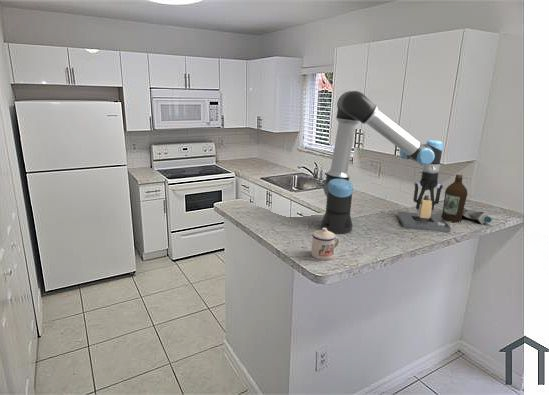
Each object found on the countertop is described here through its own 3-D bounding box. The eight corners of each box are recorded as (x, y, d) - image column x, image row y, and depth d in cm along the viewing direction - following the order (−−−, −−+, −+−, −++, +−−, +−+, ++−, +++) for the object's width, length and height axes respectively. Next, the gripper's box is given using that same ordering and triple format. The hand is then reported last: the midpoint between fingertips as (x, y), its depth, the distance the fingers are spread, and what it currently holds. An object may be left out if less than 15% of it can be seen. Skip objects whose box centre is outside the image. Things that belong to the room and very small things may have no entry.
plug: (420, 217, 181) (423, 197, 178) (417, 214, 187) (420, 194, 184) (429, 218, 180) (432, 197, 177) (426, 214, 186) (429, 194, 183)
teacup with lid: (318, 262, 136) (320, 233, 132) (306, 252, 143) (308, 225, 140) (344, 257, 141) (347, 230, 137) (331, 248, 148) (333, 222, 145)
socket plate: (403, 227, 177) (404, 221, 176) (397, 215, 196) (398, 209, 195) (449, 232, 173) (451, 225, 172) (439, 219, 192) (440, 213, 191)
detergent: (440, 213, 204) (479, 227, 181) (443, 201, 202) (482, 213, 180) (457, 213, 209) (496, 226, 187) (459, 201, 207) (500, 213, 185)
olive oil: (445, 215, 200) (453, 172, 193) (464, 220, 192) (473, 175, 186) (437, 219, 193) (445, 174, 186) (457, 224, 185) (466, 178, 179)
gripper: (413, 171, 175) (407, 216, 181) (451, 174, 172) (443, 219, 178) (410, 169, 182) (404, 212, 188) (446, 171, 179) (439, 215, 185)
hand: (423, 215), depth 183 cm, fingers closed on plug, 4 cm apart
